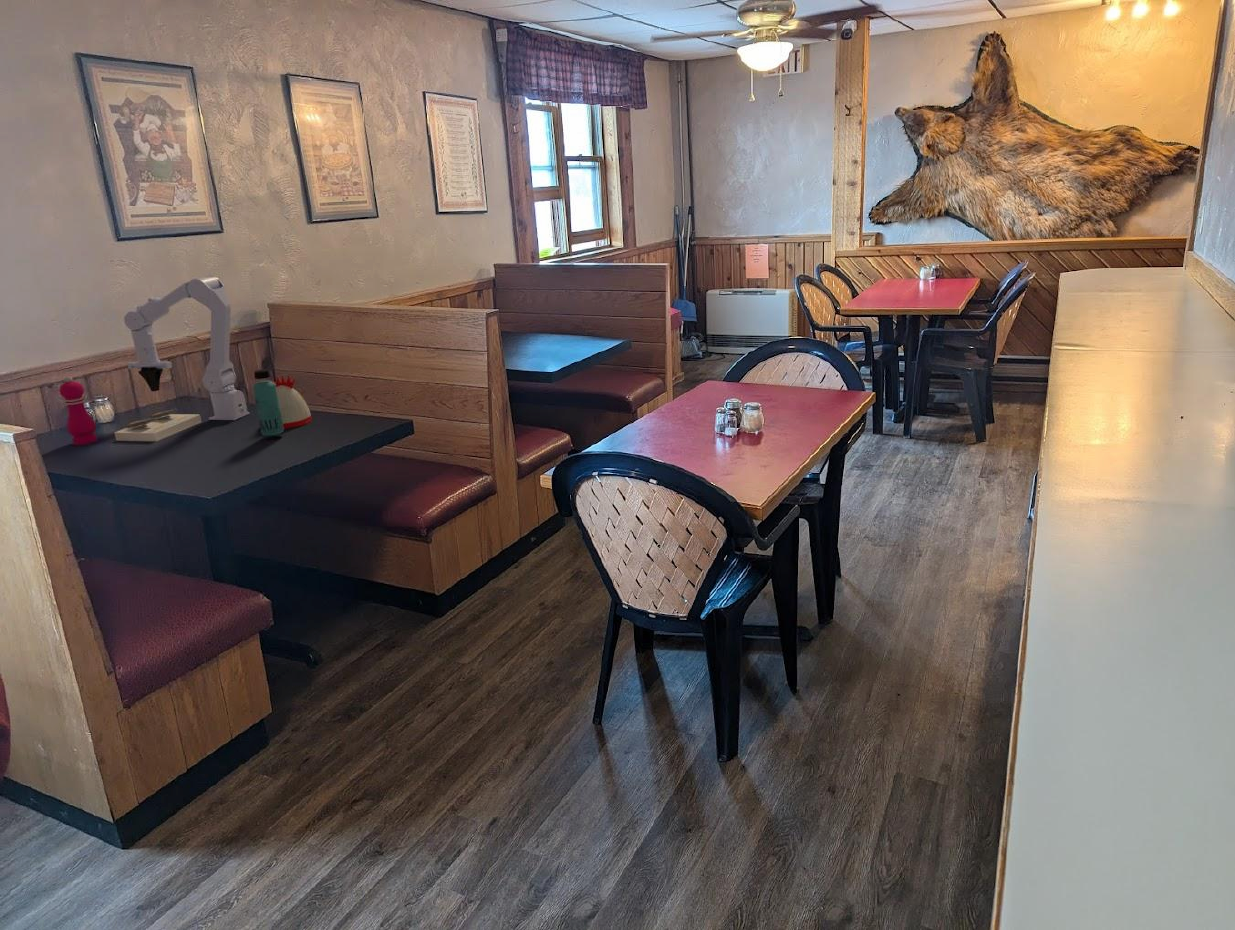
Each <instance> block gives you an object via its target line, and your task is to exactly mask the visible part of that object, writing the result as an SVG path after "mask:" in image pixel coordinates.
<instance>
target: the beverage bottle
mask: <svg viewBox="0 0 1235 930" xmlns="http://www.w3.org/2000/svg"><path fill="white" fill-rule="evenodd" d="M253 373H254V374H253V375H254V379H255V380H260V381H257V382H255V383H253V385H252V390H253V398H254V402H255V403H254V405H255V407H256V411H257V417H258V424H259V425H258V426H259V427H260V433H261V434H262V435H263V436H275V435H279V434H282V433H284V430H285V429H284V427H283V426H284V425H283V422H282V415H281V410H280V407H279V401H278V395H277V390H276V384H275V383H276V382H275V381H274V382H275V383H274V382H272V381H271V380H269V379H267V378H271V373H270V370H269V369H265V368H263V369H257V370H255V371H254V372H253ZM263 379H267V380H263Z"/></svg>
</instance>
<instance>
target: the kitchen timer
mask: <svg viewBox="0 0 1235 930" xmlns="http://www.w3.org/2000/svg"><path fill="white" fill-rule="evenodd" d="M287 375H288V376H287V380H285V378H284V376H283V374H281V381H280V378H279V377H278V375H275V376H276V377H275V378H276V380H275V381H274V380H273V379H271V380H270V381H272V382H274V383H275V384H276V390H277V395H278V401H279V407H280V410H281V415H282V422H283V425H284V426H283V427H284V430H285V429H292V428H296V427H301V426H304V425H306V424H307V425H308V424H309V423H310V422H311V421H312V414H311V411H310V409H309V405H308V404H307V403H306V401H305V397H304V396H302V395H301V394H300V392H298V391H297V390H296V389H294V387H293V386H294V384H295V380H296V377H294V378H293V379H292V381H291V379H290V378H291V377H290V374H287Z"/></svg>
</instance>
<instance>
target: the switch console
mask: <svg viewBox="0 0 1235 930" xmlns="http://www.w3.org/2000/svg"><path fill="white" fill-rule="evenodd" d="M201 423H202V417H201V414H194V413H193V414H192V413H191V414H189V413H188V414H187V413H186V414H182V413H181V414H180V413H179V414H178V413H172V414H170V415H166V416H163V417H159V418H155V421H153V422H150V423H148V424H145V425H140V426H136V427H132V428H127V427H125V428H123V429H119V430H118V431H115V432H114V437H115V440H116V441H120V442H122V441H123V442H158V441H161V440H164V439H165V438H169V437H171V436H172V435H176V434H178V433H180V432H182V431H184V430H187V429H188V428H189V429H190V428H191V427H193V426H196V425H199V424H201Z"/></svg>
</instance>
